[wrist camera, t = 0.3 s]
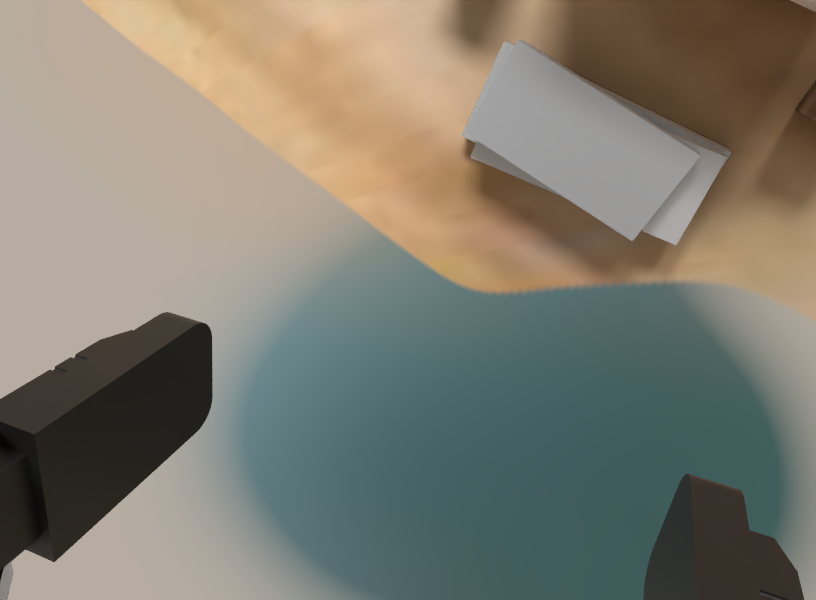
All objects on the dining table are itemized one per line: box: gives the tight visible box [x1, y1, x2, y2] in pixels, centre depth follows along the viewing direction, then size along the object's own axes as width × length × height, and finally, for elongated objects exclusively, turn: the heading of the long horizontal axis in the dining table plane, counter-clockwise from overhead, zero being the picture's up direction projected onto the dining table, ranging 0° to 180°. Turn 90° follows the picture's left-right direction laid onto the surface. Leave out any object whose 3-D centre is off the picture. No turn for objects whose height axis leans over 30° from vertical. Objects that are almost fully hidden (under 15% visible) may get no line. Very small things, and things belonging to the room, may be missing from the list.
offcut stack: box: [462, 39, 731, 245], centre depth 32 cm, size 6×12×4 cm, turn 66°
